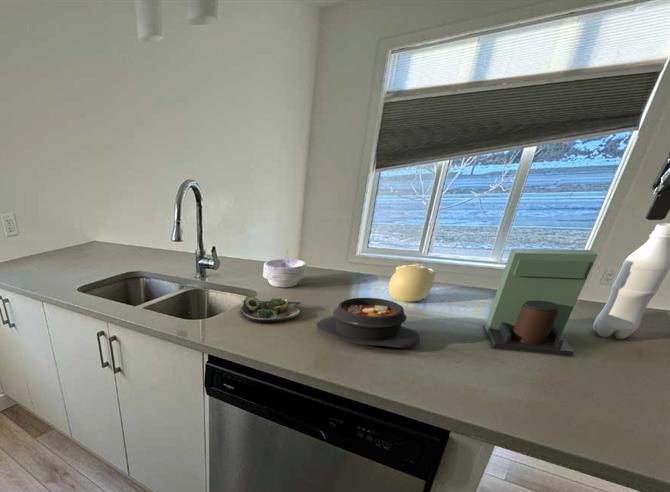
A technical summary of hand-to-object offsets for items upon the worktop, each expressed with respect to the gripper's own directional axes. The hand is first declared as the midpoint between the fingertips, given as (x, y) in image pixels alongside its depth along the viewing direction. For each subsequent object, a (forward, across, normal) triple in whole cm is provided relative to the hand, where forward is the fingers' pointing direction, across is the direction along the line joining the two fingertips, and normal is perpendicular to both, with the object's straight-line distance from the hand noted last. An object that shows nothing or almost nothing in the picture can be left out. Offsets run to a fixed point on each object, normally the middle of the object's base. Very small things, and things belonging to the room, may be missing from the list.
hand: (666, 224), depth 65 cm
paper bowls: (+30, +54, +71) cm, 94 cm away
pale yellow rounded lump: (+30, +46, +30) cm, 63 cm away
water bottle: (+30, +29, -12) cm, 44 cm away
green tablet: (+30, +20, +6) cm, 37 cm away
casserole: (+30, +12, +40) cm, 52 cm away
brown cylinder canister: (+29, +18, +6) cm, 35 cm away
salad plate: (+30, +22, +69) cm, 79 cm away
